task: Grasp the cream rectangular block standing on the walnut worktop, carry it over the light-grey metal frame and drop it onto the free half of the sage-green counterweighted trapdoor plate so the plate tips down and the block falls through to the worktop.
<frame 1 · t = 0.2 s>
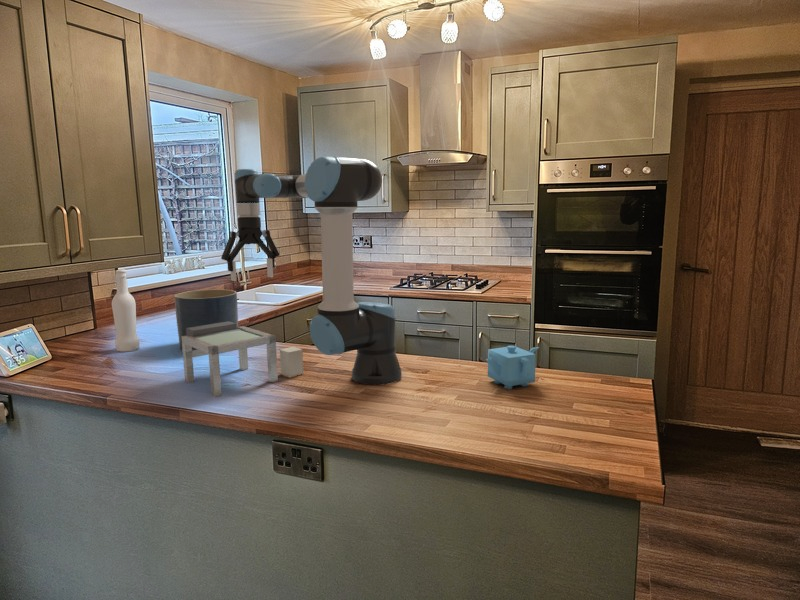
hand: (252, 279, 190), 28 cm above the countertop, fingers open, 13 cm apart
planter: (209, 346, 211), on the countertop
cream rectangular block: (292, 374, 174), on the countertop
bottle: (128, 350, 207), on the countertop
teapot: (513, 384, 162), on the countertop
trapdoor: (223, 337, 168), point 13 cm above the countertop, hinge at 0.0°
frame: (231, 381, 168), on the countertop
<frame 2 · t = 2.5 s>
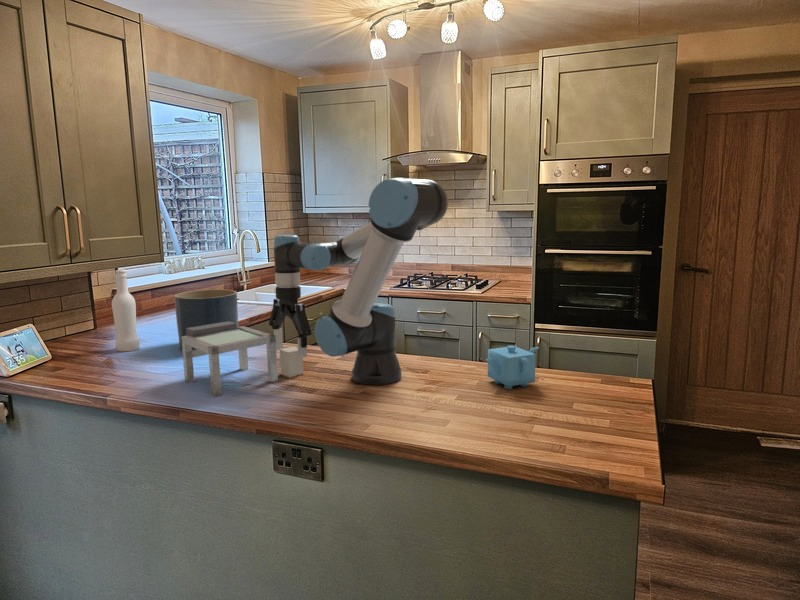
hand: (290, 353, 173), 7 cm above the countertop, fingers open, 13 cm apart
nothing on the countertop moved.
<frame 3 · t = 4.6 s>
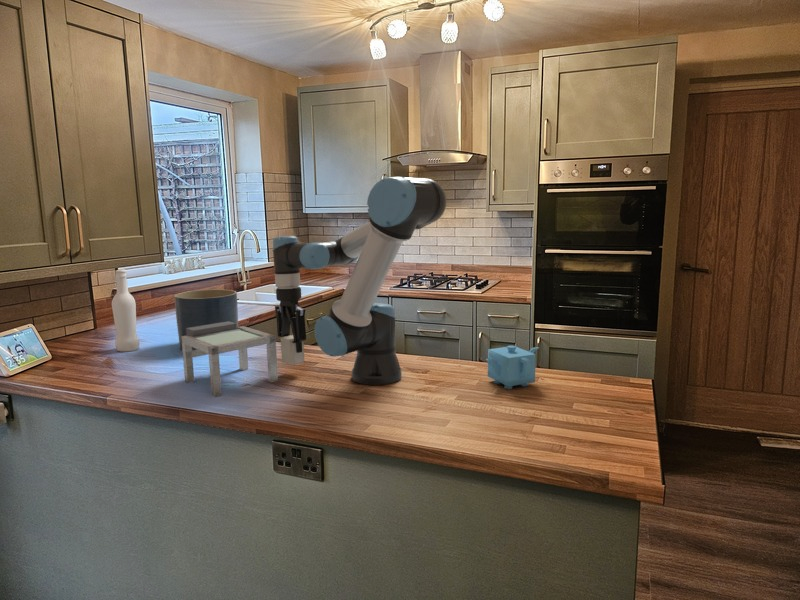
hand: (293, 360, 173), 4 cm above the countertop, fingers closed on cream rectangular block, 5 cm apart
cream rectangular block: (293, 362, 173), point 4 cm above the countertop, touching gripper
everything else where it was.
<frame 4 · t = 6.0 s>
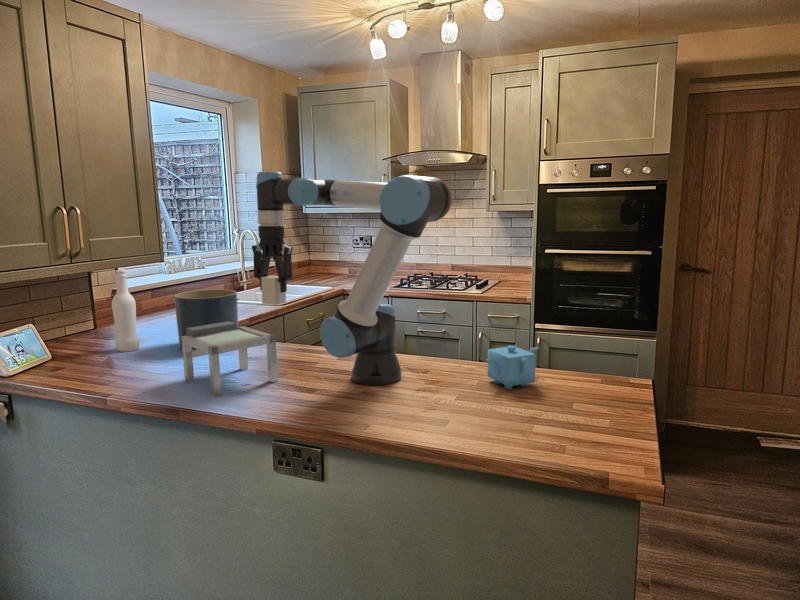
hand: (273, 301, 169), 23 cm above the countertop, fingers closed on cream rectangular block, 5 cm apart
cream rectangular block: (274, 302, 169), point 23 cm above the countertop, touching gripper
everything else where it was.
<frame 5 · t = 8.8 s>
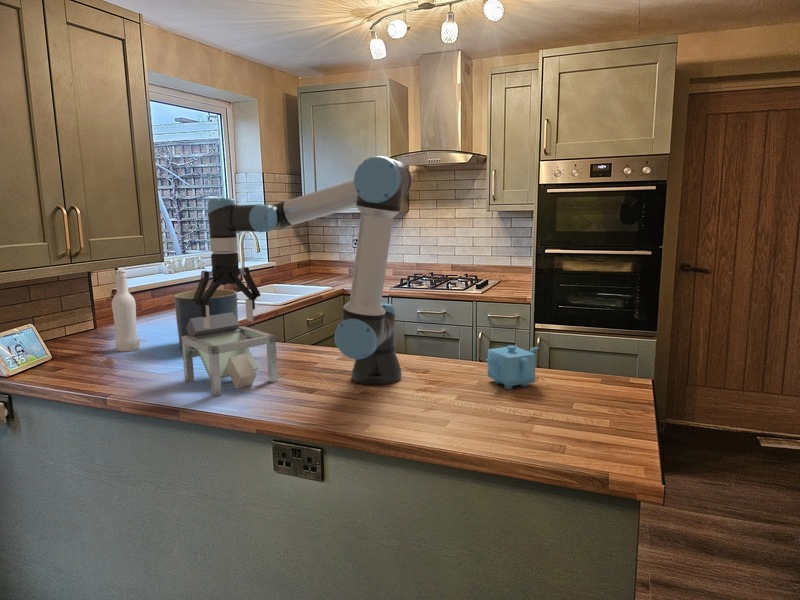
hand: (229, 324, 164), 18 cm above the countertop, fingers open, 13 cm apart
cream rectangular block: (235, 360, 164), point 7 cm above the countertop, tilted 129°, touching trapdoor
trapdoor: (222, 346, 169), point 10 cm above the countertop, hinge at -44.5°, touching cream rectangular block
everything else where it was.
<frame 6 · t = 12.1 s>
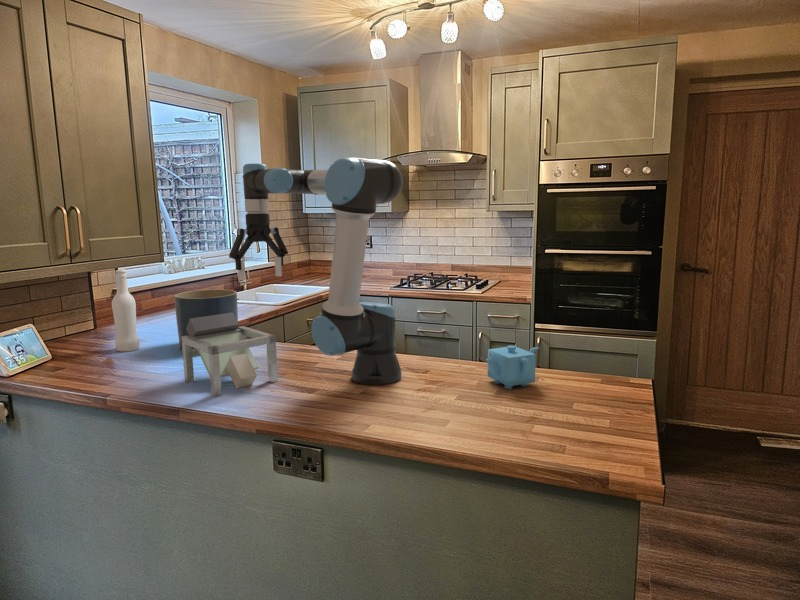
hand: (260, 278, 183), 29 cm above the countertop, fingers open, 13 cm apart
trapdoor: (222, 346, 169), point 10 cm above the countertop, hinge at -42.3°, touching cream rectangular block
everything else where it was.
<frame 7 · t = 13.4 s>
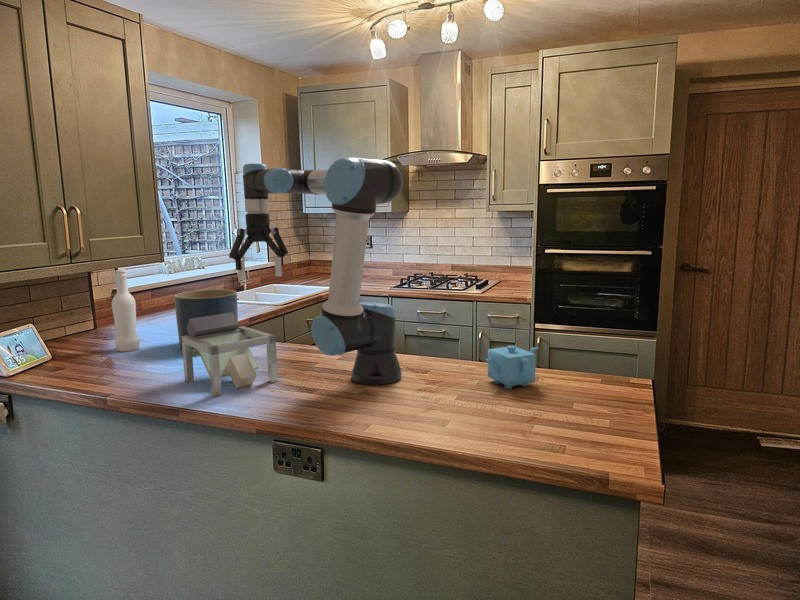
hand: (260, 278, 183), 29 cm above the countertop, fingers open, 13 cm apart
nothing on the countertop moved.
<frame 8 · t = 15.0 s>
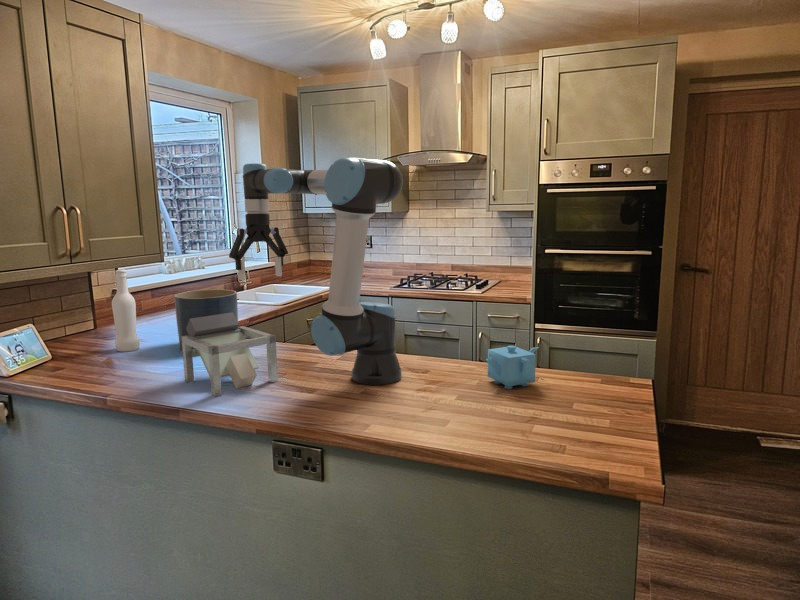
hand: (260, 278, 183), 29 cm above the countertop, fingers open, 13 cm apart
nothing on the countertop moved.
at the end: cream rectangular block point 7.2 cm above the countertop; cream rectangular block inside the target area on the frame (3.3 cm from its centre), point 7.2 cm above the frame's base; the gripper is holding nothing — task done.
